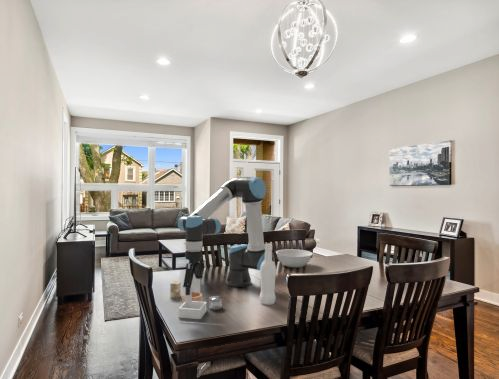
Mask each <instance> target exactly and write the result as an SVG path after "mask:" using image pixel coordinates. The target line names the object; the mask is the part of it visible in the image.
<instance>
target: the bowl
mask: <svg viewBox="0 0 499 379" xmlns="http://www.w3.org/2000/svg"><path fill="white" fill-rule="evenodd" d="M275 253H276V256H277V259H278V260H279V262H280V263H281V264H282V265H283V266H285V267H288V268H294V269H295V268H302V267H305V266H306V265H308V264H309V262H310V261H311V259H312V256H313V254H314V253H313V252H311V251H309V250H305V249H298V248H297V249H295V248H294V249H291V248H290V249H289V248H286V249H279V250H275Z"/></svg>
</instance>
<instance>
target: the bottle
mask: <svg viewBox="0 0 499 379" xmlns="http://www.w3.org/2000/svg"><path fill="white" fill-rule="evenodd" d="M264 244H265V260H264V261H263V262H262V264H261V267H260V270H259V271H260V293H259V302H260V304H262V305H265V306H271V305H274V304H275V303H276V292H275V288H276V287H275V286H276V284H275V283H276V272H277V267H276V264H275V262H274V261H273V244H272V243H270V242H269V243H264Z"/></svg>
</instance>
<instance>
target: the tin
mask: <svg viewBox="0 0 499 379" xmlns="http://www.w3.org/2000/svg"><path fill="white" fill-rule="evenodd" d="M222 300H223V297H222V296H220V295H211V296H209V297H208V308H209V309H210V310H213V311H214V310H215V311H217V310H220V309H222V307H223V306H222V305H223V301H222Z"/></svg>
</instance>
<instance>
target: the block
mask: <svg viewBox="0 0 499 379" xmlns="http://www.w3.org/2000/svg"><path fill="white" fill-rule="evenodd" d="M169 286H170V288H169V290H170V291H169V292H170V293H169V294H170V296H169V298H170V299H179V298H180V297H181V281H172V282H171V283H170V285H169Z"/></svg>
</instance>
